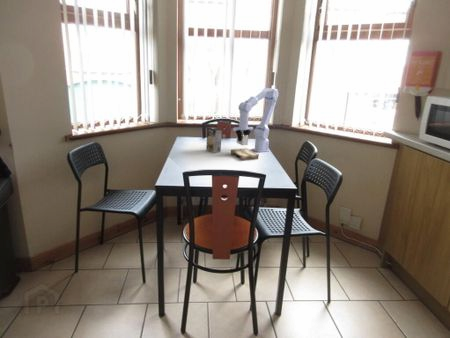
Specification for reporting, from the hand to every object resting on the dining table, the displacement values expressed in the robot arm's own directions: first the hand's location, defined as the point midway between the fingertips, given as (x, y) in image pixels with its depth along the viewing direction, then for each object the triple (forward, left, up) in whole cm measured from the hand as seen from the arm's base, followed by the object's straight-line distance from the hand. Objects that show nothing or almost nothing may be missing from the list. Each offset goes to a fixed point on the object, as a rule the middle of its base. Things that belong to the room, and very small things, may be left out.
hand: (242, 141), depth 211 cm
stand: (+1, +6, -9) cm, 11 cm away
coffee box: (+15, -12, -9) cm, 22 cm away
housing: (0, 0, -2) cm, 2 cm away
